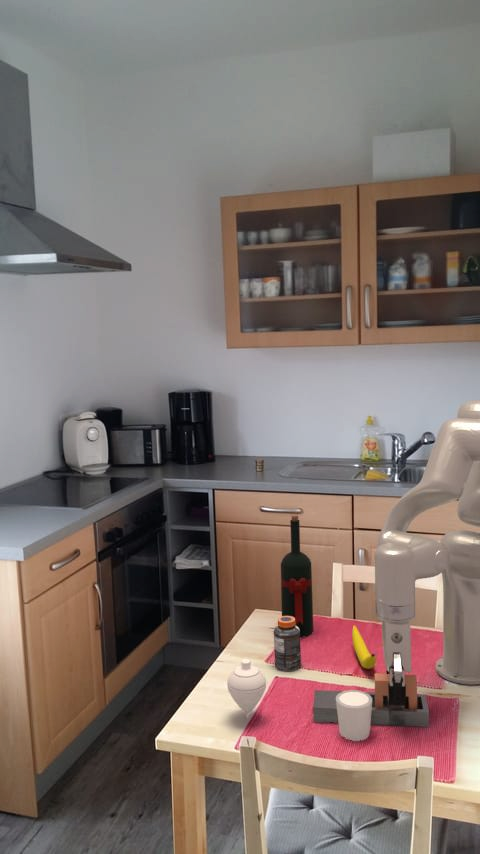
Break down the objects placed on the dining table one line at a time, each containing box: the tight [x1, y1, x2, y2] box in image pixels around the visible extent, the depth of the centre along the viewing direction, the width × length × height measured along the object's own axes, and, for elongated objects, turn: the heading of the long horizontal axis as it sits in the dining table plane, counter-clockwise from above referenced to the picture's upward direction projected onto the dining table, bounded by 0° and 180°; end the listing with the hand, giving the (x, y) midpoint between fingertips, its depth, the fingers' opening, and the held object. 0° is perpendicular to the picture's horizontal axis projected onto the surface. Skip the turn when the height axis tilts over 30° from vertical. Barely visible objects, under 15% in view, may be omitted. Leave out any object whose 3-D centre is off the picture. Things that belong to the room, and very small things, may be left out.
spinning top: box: [226, 658, 267, 719], centre depth 149 cm, size 8×8×12 cm
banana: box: [351, 625, 377, 670], centre depth 171 cm, size 3×19×6 cm, turn 4°
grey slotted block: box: [312, 689, 430, 728], centre depth 149 cm, size 22×7×3 cm, turn 81°
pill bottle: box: [273, 615, 302, 672], centre depth 170 cm, size 6×6×11 cm
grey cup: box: [336, 689, 372, 742], centre depth 142 cm, size 7×7×7 cm
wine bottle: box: [280, 514, 314, 638], centre depth 187 cm, size 8×10×30 cm
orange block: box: [374, 673, 418, 709], centre depth 148 cm, size 8×3×8 cm, turn 81°
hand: (395, 691), depth 147 cm, fingers open, 9 cm apart
